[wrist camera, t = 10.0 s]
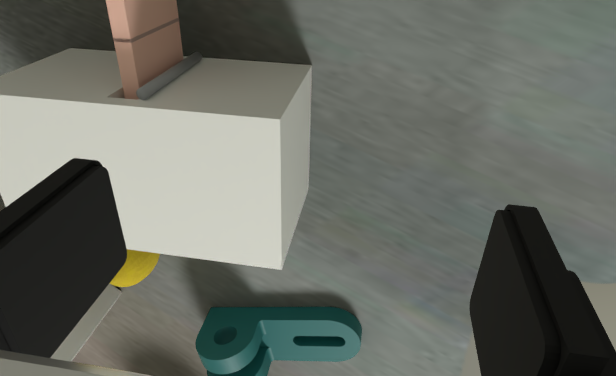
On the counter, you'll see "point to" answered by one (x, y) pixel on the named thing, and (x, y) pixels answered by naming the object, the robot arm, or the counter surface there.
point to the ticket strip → (144, 40)
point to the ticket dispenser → (171, 148)
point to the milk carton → (87, 324)
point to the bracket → (274, 337)
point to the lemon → (135, 268)
